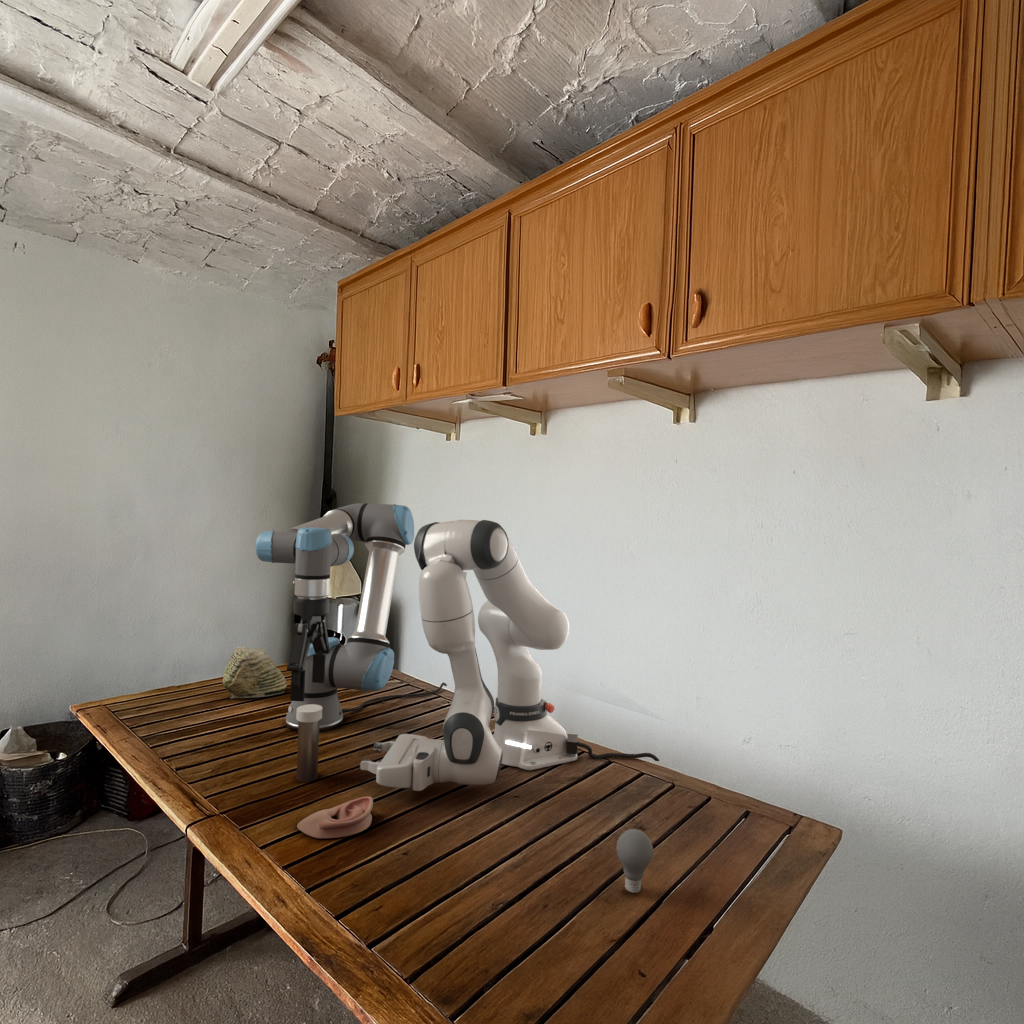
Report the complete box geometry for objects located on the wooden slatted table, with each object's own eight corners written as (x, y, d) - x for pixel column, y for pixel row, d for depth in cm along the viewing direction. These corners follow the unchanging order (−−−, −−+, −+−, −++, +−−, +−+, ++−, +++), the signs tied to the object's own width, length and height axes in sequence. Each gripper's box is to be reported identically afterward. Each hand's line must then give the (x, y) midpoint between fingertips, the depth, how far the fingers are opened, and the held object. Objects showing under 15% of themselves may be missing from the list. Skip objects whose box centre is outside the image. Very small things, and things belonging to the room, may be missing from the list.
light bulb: (610, 879, 108) (613, 822, 108) (644, 879, 109) (647, 822, 109) (619, 902, 102) (622, 840, 102) (655, 901, 103) (658, 840, 103)
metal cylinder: (317, 780, 141) (320, 712, 141) (296, 783, 140) (299, 714, 139) (317, 772, 145) (319, 706, 145) (296, 774, 144) (298, 707, 144)
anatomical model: (288, 812, 118) (319, 786, 130) (288, 834, 118) (318, 805, 130) (354, 823, 116) (380, 795, 127) (354, 844, 116) (379, 814, 127)
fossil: (218, 695, 195) (220, 647, 195) (278, 685, 208) (279, 640, 207) (228, 703, 189) (230, 653, 188) (289, 692, 201) (290, 645, 201)
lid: (322, 721, 140) (323, 711, 140) (296, 723, 139) (296, 713, 139) (321, 713, 146) (321, 703, 146) (296, 714, 144) (296, 705, 144)
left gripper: (314, 588, 154) (310, 674, 154) (272, 605, 129) (269, 708, 130) (344, 589, 154) (341, 676, 154) (309, 606, 129) (305, 710, 129)
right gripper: (438, 729, 150) (381, 725, 151) (419, 764, 130) (353, 759, 131) (437, 755, 150) (380, 751, 151) (418, 795, 130) (352, 790, 131)
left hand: (308, 691), depth 142 cm, fingers open, 13 cm apart
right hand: (367, 755), depth 141 cm, fingers open, 8 cm apart
